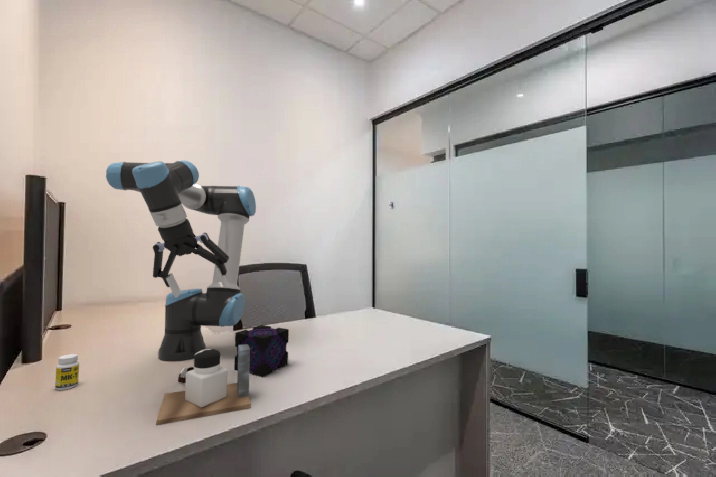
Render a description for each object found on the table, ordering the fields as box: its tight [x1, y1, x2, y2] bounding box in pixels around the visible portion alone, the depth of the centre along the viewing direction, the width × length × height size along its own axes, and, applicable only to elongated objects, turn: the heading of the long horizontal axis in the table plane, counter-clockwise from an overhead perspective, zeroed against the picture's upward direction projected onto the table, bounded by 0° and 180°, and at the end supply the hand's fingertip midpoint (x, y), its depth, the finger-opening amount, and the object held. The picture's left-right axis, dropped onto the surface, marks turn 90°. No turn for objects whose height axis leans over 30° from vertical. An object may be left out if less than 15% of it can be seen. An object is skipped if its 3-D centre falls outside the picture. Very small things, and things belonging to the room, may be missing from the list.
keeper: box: [155, 344, 252, 426], centre depth 82 cm, size 20×14×13 cm
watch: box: [177, 366, 194, 384], centre depth 96 cm, size 8×5×4 cm, turn 179°
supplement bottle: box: [54, 353, 80, 391], centre depth 89 cm, size 5×5×8 cm
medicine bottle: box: [184, 348, 228, 408], centre depth 82 cm, size 7×7×12 cm
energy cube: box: [233, 324, 290, 378], centre depth 106 cm, size 12×12×12 cm
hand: (201, 289), depth 93 cm, fingers open, 13 cm apart
